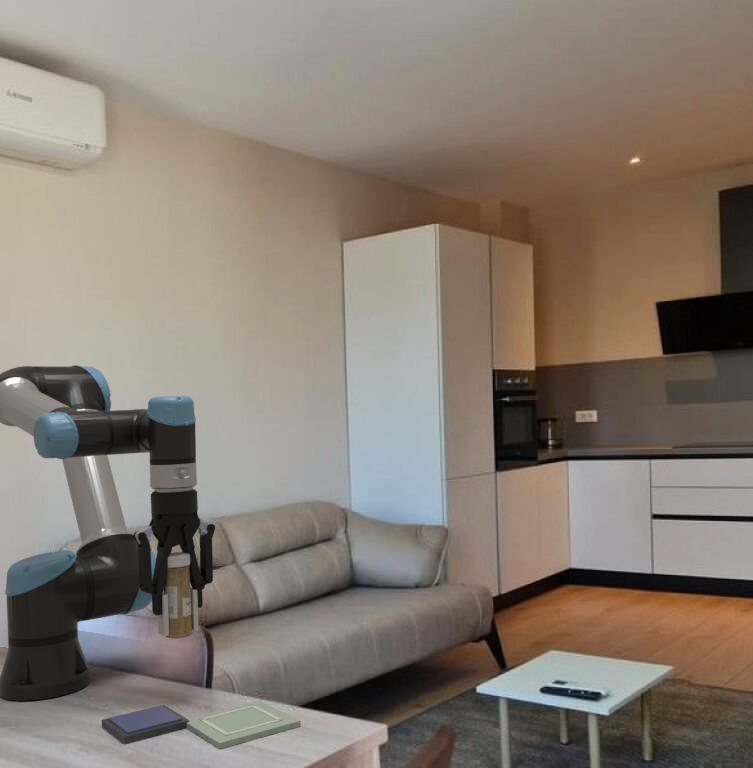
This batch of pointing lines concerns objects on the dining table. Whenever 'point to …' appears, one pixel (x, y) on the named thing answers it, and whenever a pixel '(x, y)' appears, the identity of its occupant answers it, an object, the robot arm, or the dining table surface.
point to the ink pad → (144, 724)
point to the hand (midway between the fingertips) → (178, 630)
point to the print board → (241, 724)
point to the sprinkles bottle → (178, 595)
